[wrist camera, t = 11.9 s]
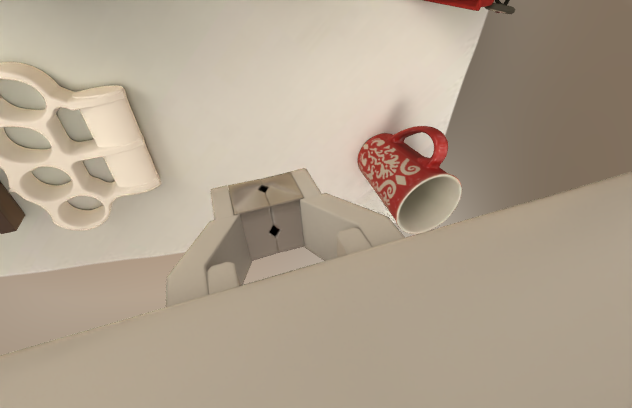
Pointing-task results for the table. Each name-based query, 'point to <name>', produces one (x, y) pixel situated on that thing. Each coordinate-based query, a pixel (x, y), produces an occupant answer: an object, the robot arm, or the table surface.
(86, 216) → the cream flat holed block
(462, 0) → the robot toy
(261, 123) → the table surface
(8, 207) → the bar
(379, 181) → the mug
